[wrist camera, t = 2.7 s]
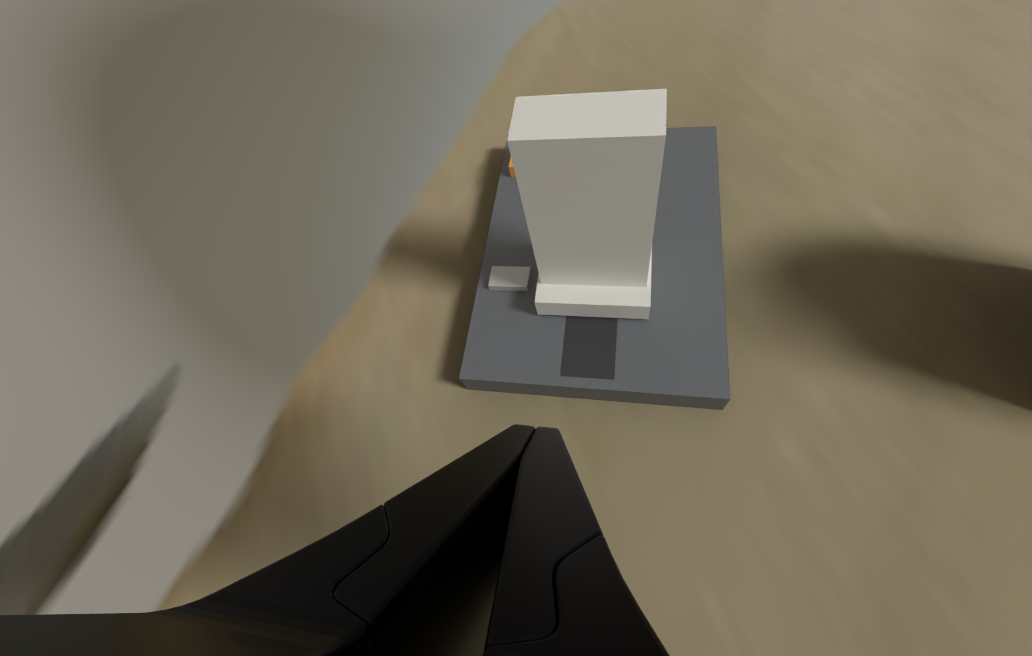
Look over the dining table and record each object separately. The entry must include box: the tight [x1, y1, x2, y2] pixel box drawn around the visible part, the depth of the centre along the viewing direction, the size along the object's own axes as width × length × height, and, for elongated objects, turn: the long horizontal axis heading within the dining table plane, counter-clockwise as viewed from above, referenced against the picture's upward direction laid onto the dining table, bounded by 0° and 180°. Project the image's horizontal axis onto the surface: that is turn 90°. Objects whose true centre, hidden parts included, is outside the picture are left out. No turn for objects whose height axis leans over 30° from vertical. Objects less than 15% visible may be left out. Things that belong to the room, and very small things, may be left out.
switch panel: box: [459, 126, 730, 410], centre depth 25 cm, size 16×12×2 cm
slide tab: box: [507, 89, 667, 319], centre depth 19 cm, size 4×5×10 cm
